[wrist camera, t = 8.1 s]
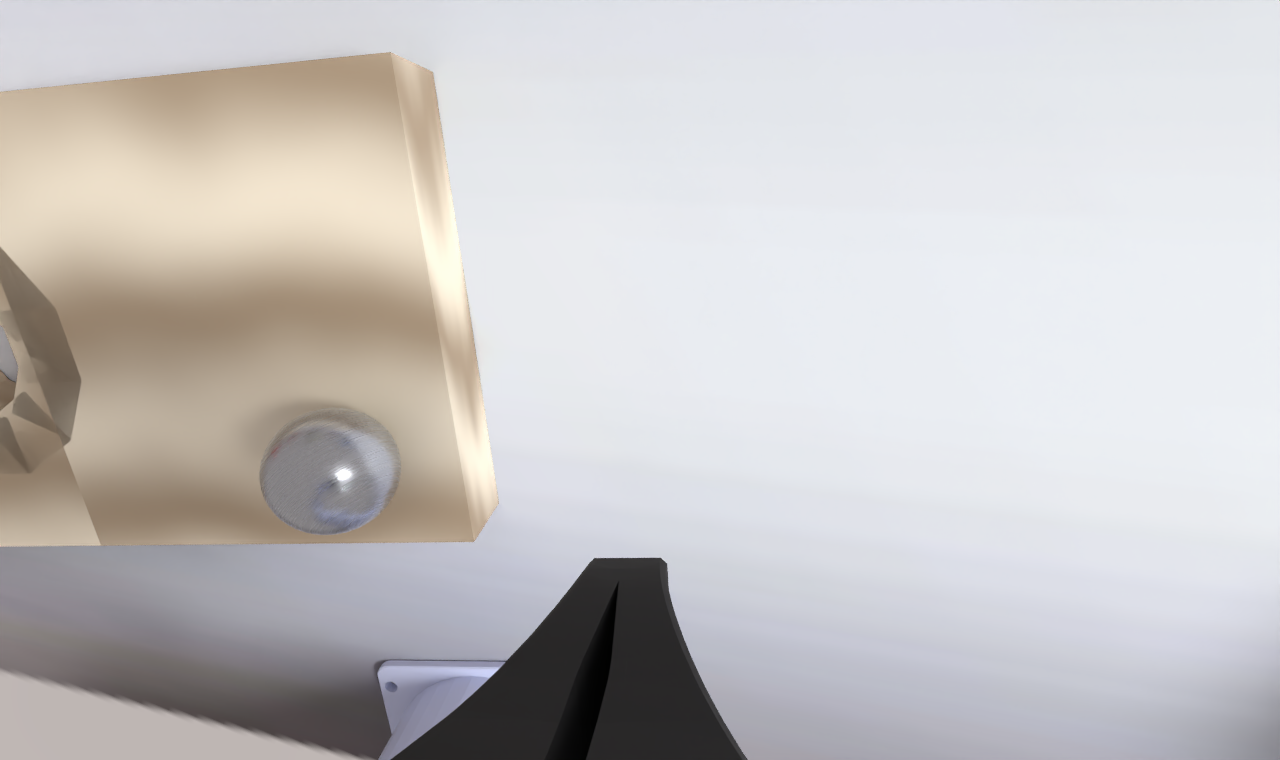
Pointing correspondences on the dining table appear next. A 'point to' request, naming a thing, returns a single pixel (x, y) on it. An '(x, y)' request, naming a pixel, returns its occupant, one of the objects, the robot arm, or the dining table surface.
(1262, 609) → the dining table surface
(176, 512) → the birch plate
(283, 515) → the silver metal ball
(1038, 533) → the dining table surface
